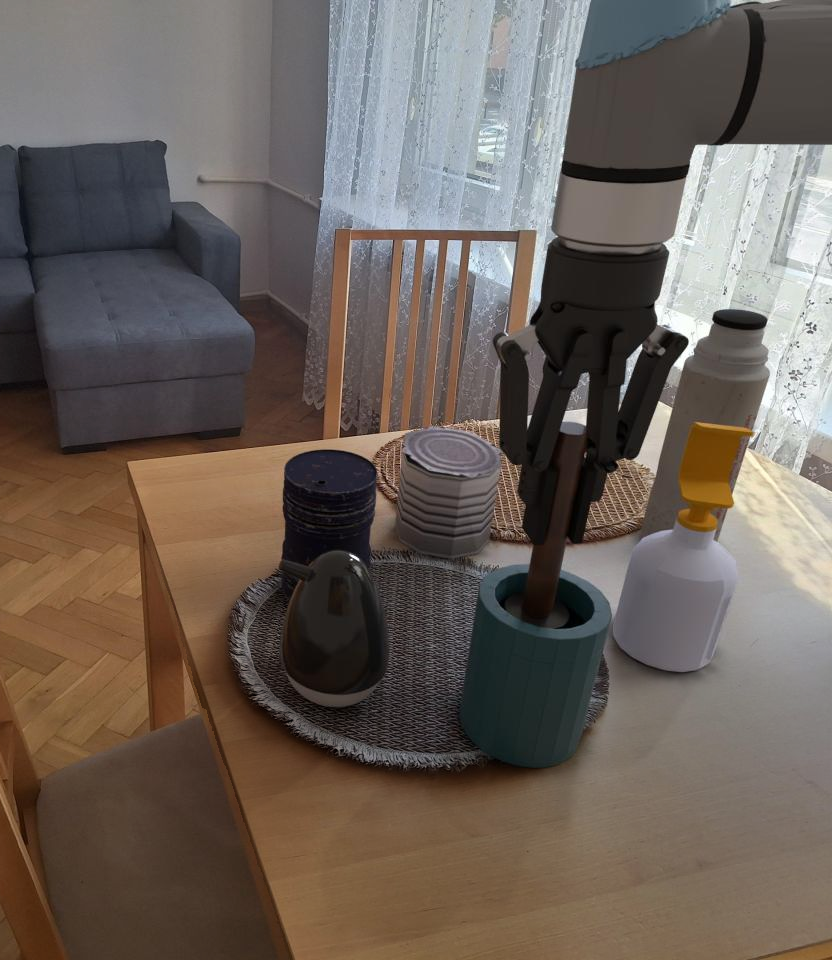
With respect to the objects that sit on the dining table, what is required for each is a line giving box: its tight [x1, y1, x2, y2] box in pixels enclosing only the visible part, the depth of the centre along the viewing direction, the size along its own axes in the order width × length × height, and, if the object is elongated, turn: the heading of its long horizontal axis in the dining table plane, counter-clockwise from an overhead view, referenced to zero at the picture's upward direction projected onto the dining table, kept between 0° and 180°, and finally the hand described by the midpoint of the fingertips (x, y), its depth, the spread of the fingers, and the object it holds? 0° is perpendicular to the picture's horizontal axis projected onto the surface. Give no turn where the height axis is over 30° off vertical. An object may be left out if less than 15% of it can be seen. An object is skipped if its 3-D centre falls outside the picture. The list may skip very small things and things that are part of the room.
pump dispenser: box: [278, 549, 390, 708], centre depth 79 cm, size 10×10×15 cm
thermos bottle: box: [639, 308, 771, 542], centre depth 95 cm, size 8×8×28 cm
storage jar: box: [280, 448, 378, 602], centre depth 93 cm, size 10×10×15 cm
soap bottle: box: [612, 422, 755, 673], centre depth 80 cm, size 9×9×25 cm
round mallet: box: [504, 421, 589, 629], centre depth 70 cm, size 5×5×24 cm
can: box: [394, 425, 503, 560], centre depth 103 cm, size 11×11×12 cm
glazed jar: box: [459, 563, 613, 769], centre depth 74 cm, size 10×10×14 cm
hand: (551, 534), depth 69 cm, fingers closed on round mallet, 2 cm apart
